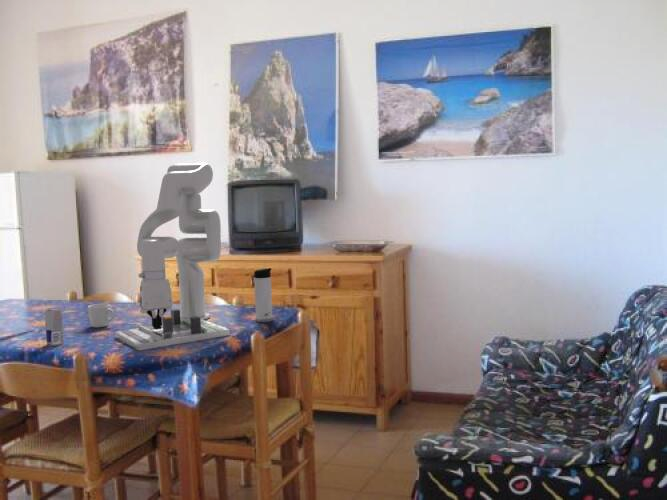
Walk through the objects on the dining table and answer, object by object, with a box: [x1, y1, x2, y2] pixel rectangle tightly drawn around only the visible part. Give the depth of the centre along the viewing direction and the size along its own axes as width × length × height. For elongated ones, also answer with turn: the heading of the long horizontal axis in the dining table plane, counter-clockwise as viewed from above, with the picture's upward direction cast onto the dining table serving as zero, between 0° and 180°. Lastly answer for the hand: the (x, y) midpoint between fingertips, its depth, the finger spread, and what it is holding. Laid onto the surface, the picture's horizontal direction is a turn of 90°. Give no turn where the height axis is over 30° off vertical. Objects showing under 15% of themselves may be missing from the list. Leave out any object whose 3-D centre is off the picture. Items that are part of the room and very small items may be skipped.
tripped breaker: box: [162, 314, 173, 332], centre depth 234 cm, size 3×2×5 cm
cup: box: [87, 303, 116, 328], centre depth 255 cm, size 11×8×8 cm
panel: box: [114, 308, 230, 351], centre depth 235 cm, size 24×32×7 cm
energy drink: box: [44, 307, 65, 347], centre depth 228 cm, size 5×5×12 cm
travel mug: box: [253, 267, 273, 323], centre depth 256 cm, size 6×7×20 cm
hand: (157, 328), depth 232 cm, fingers closed
